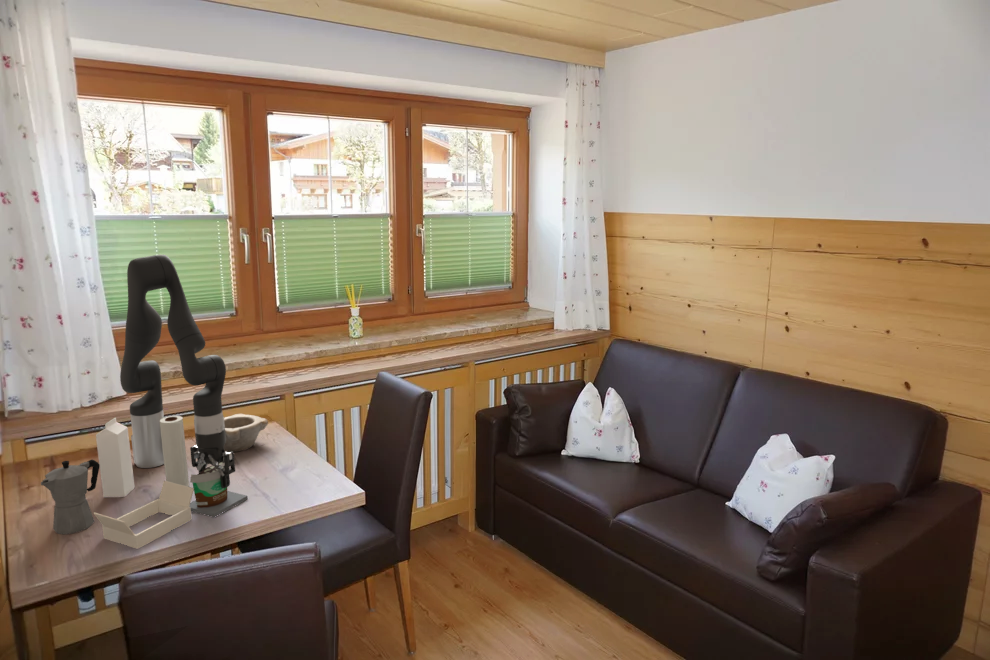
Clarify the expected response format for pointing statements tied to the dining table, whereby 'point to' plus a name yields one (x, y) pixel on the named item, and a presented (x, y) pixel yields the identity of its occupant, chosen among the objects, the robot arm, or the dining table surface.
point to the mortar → (242, 431)
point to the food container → (208, 487)
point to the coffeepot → (71, 496)
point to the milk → (115, 460)
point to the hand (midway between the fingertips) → (214, 484)
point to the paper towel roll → (174, 450)
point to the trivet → (220, 505)
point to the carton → (169, 502)
